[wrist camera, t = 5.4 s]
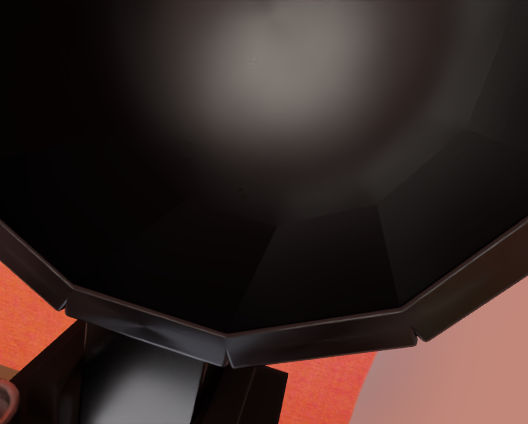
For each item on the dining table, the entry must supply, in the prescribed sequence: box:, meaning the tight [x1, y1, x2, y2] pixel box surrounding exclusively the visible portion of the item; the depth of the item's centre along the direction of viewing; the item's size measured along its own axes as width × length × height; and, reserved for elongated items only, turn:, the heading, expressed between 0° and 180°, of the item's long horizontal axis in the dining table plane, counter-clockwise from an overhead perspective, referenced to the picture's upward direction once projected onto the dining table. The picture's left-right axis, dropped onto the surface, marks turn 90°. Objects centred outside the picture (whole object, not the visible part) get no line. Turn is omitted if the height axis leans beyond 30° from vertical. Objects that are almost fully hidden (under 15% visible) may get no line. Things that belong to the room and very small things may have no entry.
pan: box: [0, 0, 528, 424], centre depth 8 cm, size 20×10×5 cm, turn 167°
